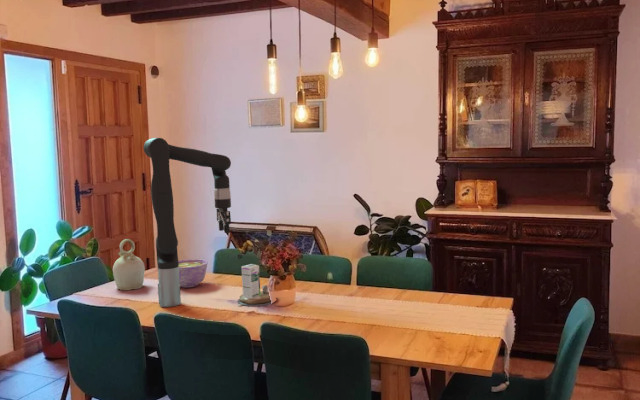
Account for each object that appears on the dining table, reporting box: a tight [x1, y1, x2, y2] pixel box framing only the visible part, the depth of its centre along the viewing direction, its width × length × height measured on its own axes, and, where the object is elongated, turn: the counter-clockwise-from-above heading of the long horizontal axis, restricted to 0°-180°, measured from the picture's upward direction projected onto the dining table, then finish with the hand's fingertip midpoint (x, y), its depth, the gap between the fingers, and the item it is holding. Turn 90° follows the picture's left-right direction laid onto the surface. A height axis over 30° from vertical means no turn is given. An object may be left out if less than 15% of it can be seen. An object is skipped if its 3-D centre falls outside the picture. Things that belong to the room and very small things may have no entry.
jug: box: [112, 238, 146, 291], centre depth 305 cm, size 15×16×25 cm
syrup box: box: [241, 263, 261, 299], centre depth 272 cm, size 6×6×14 cm
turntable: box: [239, 284, 271, 304], centre depth 274 cm, size 16×16×5 cm
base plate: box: [237, 298, 272, 307], centre depth 274 cm, size 19×18×1 cm
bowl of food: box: [178, 258, 208, 288], centre depth 306 cm, size 20×20×12 cm
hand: (224, 231), depth 286 cm, fingers open, 8 cm apart
